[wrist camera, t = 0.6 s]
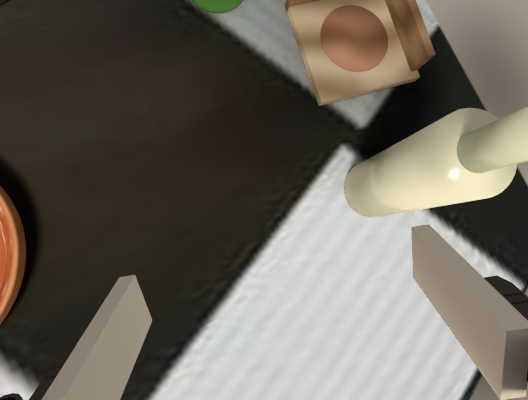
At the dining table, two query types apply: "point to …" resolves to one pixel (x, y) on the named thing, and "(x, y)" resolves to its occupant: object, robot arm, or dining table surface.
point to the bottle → (441, 164)
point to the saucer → (10, 254)
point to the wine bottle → (217, 5)
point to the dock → (359, 44)
